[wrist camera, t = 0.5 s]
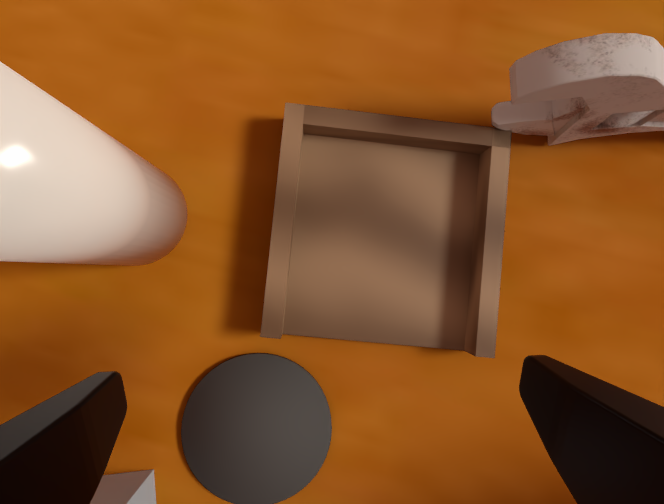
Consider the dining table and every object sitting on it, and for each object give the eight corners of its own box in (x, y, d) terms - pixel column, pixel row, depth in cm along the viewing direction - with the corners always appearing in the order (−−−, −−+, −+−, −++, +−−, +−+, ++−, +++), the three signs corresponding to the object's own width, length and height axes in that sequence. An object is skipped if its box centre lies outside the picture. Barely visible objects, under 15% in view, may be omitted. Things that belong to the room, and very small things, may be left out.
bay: (477, 349, 22) (494, 357, 20) (265, 330, 22) (260, 337, 20) (493, 142, 23) (511, 129, 21) (287, 118, 22) (285, 102, 20)
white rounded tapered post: (171, 276, 22) (-17, 284, 9) (70, 250, 21) (-264, 222, 9) (199, 179, 22) (54, 59, 10) (99, 152, 22) (-182, -7, 9)
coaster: (310, 518, 21) (310, 521, 21) (165, 483, 21) (163, 487, 21) (347, 372, 22) (347, 374, 22) (206, 337, 22) (204, 338, 21)
